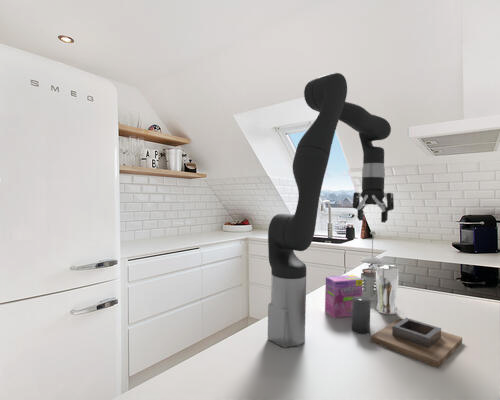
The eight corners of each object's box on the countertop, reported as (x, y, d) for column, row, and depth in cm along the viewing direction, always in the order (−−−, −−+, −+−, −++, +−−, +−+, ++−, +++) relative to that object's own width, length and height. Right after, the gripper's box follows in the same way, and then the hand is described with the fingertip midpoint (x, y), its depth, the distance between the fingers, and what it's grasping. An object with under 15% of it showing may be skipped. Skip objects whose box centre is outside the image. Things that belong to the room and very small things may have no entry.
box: (333, 318, 95) (334, 281, 95) (324, 311, 100) (325, 276, 100) (362, 315, 98) (363, 279, 97) (352, 309, 103) (352, 274, 103)
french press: (380, 292, 121) (381, 229, 120) (390, 303, 109) (392, 233, 109) (354, 291, 122) (356, 229, 121) (362, 301, 110) (364, 233, 110)
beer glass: (378, 305, 106) (379, 263, 106) (399, 310, 102) (401, 266, 102) (371, 311, 101) (373, 266, 101) (394, 317, 97) (395, 270, 96)
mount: (438, 368, 68) (439, 350, 68) (370, 341, 80) (371, 326, 80) (462, 343, 80) (462, 328, 80) (399, 323, 92) (400, 309, 92)
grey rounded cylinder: (364, 336, 83) (365, 303, 83) (348, 329, 87) (349, 298, 87) (372, 331, 87) (373, 299, 86) (357, 325, 90) (358, 295, 90)
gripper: (349, 176, 113) (348, 220, 113) (388, 175, 102) (386, 223, 102) (360, 177, 118) (358, 219, 118) (397, 176, 107) (396, 222, 107)
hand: (371, 221), depth 110 cm, fingers open, 8 cm apart
